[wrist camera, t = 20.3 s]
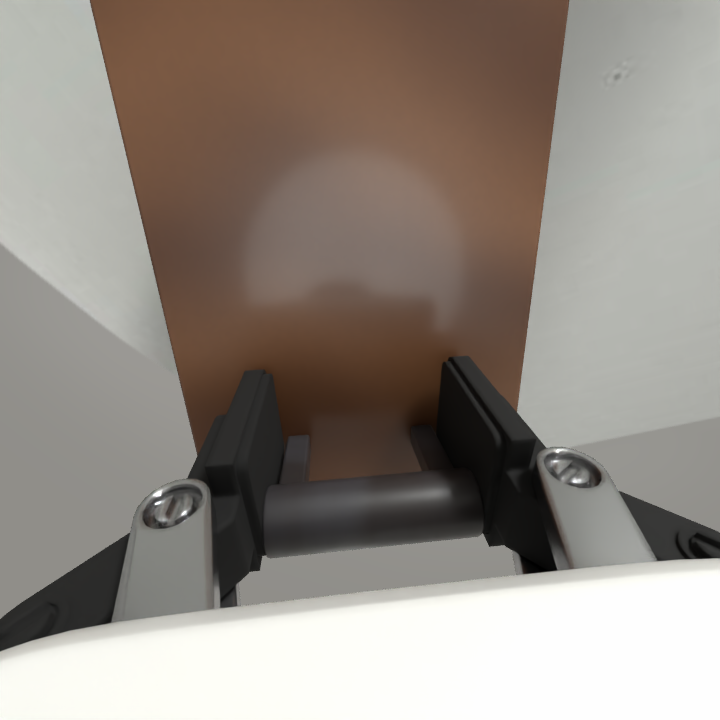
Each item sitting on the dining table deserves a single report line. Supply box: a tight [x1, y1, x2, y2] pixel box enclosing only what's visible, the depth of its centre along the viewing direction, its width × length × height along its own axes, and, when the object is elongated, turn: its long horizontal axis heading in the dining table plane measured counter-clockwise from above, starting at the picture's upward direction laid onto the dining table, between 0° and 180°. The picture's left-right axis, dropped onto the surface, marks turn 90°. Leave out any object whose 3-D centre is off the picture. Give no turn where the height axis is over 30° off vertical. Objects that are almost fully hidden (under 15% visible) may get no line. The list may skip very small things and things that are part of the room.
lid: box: [90, 0, 569, 558], centre depth 8 cm, size 14×11×5 cm
